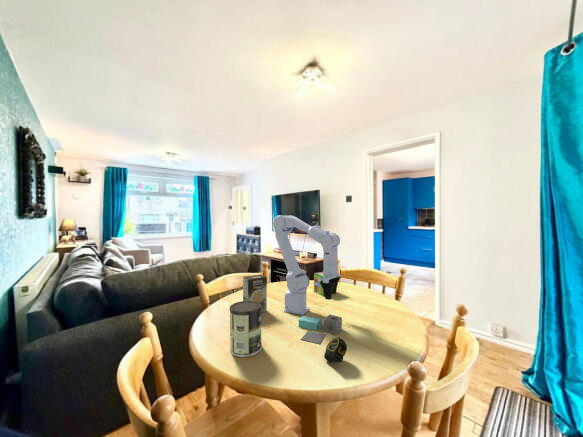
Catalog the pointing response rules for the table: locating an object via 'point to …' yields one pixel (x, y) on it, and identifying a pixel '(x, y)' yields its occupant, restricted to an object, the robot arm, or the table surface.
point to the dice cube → (333, 324)
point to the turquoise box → (310, 322)
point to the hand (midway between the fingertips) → (330, 296)
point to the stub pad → (313, 337)
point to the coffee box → (255, 290)
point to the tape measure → (335, 350)
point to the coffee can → (245, 328)
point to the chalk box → (318, 283)
